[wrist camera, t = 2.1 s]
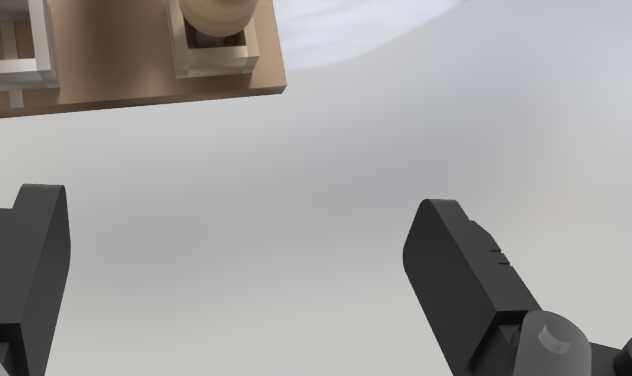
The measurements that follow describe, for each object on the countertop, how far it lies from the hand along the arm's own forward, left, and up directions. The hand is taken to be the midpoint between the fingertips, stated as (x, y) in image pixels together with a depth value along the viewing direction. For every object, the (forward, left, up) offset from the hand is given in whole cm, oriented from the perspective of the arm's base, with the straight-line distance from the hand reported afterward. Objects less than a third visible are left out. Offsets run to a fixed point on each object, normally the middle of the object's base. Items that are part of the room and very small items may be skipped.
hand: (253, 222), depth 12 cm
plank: (+3, -12, -18) cm, 22 cm away
